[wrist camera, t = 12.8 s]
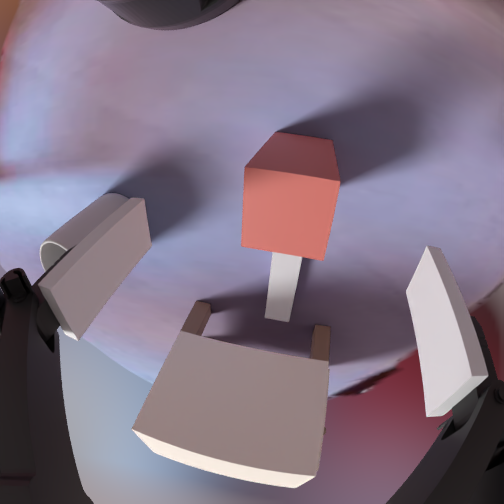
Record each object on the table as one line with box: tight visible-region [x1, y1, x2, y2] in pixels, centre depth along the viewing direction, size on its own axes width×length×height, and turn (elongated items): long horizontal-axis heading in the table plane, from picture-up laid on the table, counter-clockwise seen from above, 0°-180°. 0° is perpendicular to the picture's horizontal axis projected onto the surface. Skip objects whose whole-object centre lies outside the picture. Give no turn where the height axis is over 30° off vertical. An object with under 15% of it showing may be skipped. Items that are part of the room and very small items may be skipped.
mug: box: [40, 193, 129, 272], centre depth 30 cm, size 12×8×11 cm
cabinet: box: [132, 301, 331, 488], centre depth 31 cm, size 10×19×20 cm, turn 87°
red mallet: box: [241, 132, 340, 322], centre depth 25 cm, size 22×5×11 cm, turn 177°
